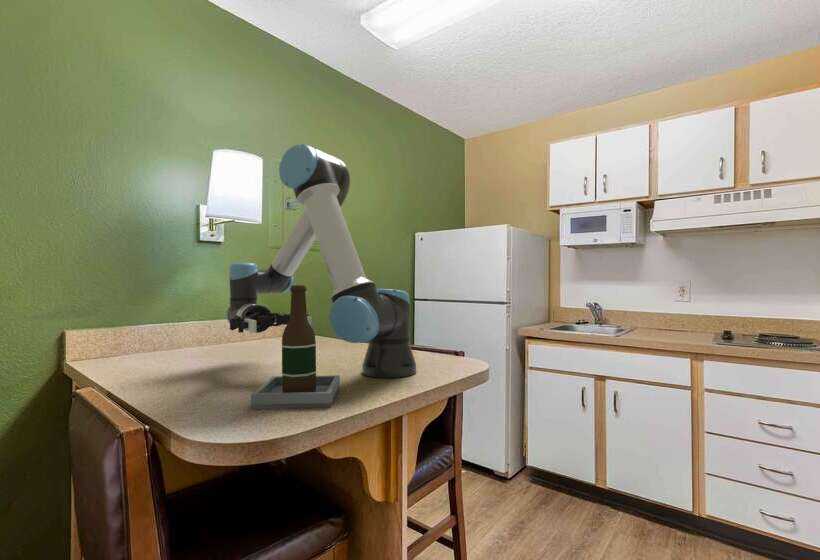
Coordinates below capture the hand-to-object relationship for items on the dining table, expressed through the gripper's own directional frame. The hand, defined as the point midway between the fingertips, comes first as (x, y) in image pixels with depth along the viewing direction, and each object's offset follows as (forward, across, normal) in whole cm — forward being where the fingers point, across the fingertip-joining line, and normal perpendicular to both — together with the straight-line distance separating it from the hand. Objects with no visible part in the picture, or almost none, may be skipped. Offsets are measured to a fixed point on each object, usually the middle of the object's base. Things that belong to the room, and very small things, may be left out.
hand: (283, 324), depth 101 cm
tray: (+9, 0, -16) cm, 18 cm away
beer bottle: (+8, 0, -15) cm, 17 cm away
